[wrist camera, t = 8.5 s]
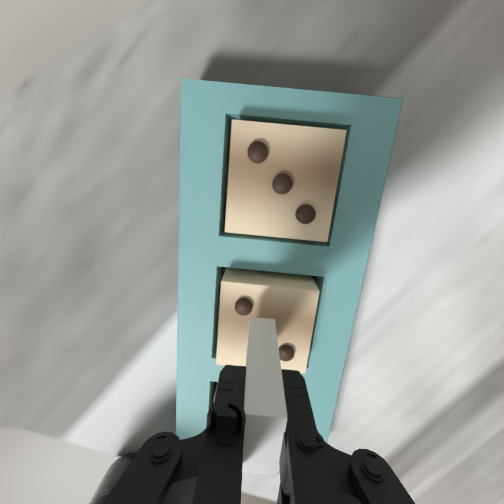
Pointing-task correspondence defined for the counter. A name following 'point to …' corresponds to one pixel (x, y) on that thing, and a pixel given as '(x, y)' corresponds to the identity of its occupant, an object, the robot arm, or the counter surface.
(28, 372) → the counter surface
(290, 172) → the key three
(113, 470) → the supplement bottle
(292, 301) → the key two
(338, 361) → the teal puzzle board
